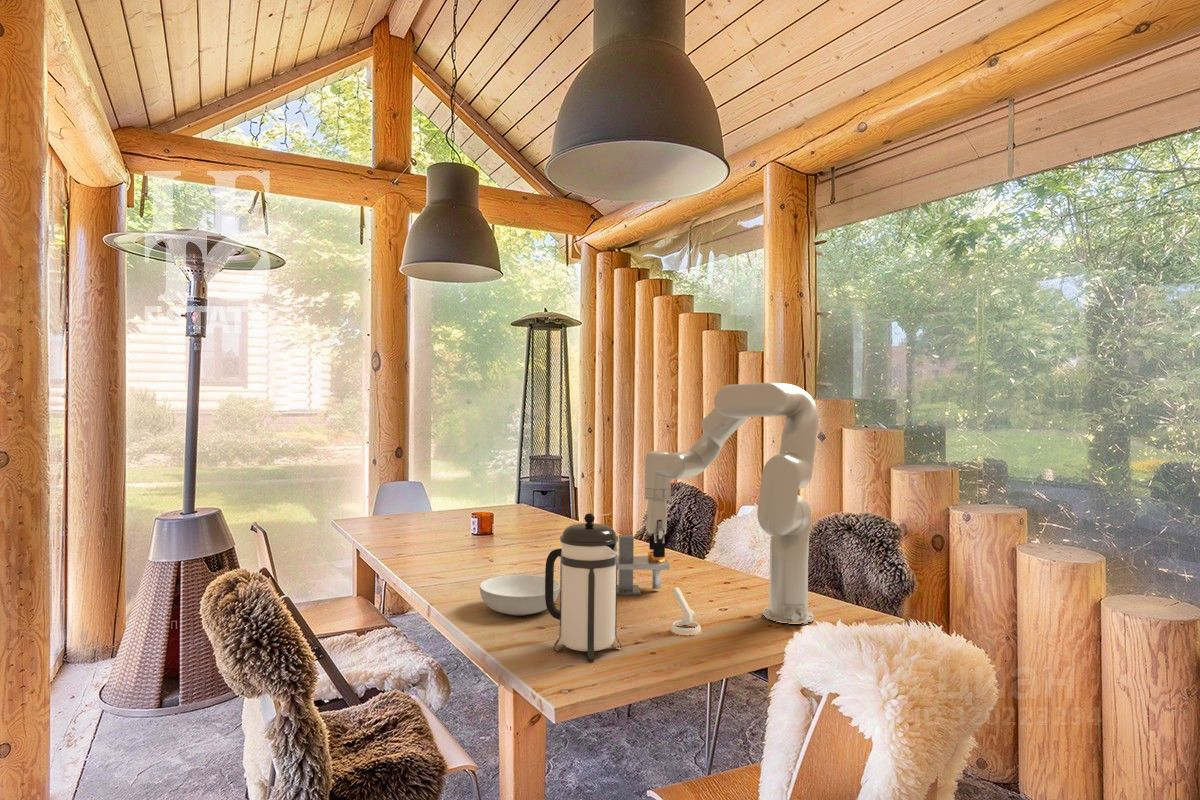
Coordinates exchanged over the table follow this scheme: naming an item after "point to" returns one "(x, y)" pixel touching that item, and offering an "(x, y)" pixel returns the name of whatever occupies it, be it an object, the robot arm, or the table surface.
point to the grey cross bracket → (632, 566)
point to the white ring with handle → (684, 616)
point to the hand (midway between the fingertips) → (656, 553)
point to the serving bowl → (516, 593)
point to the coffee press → (585, 587)
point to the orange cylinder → (656, 573)
